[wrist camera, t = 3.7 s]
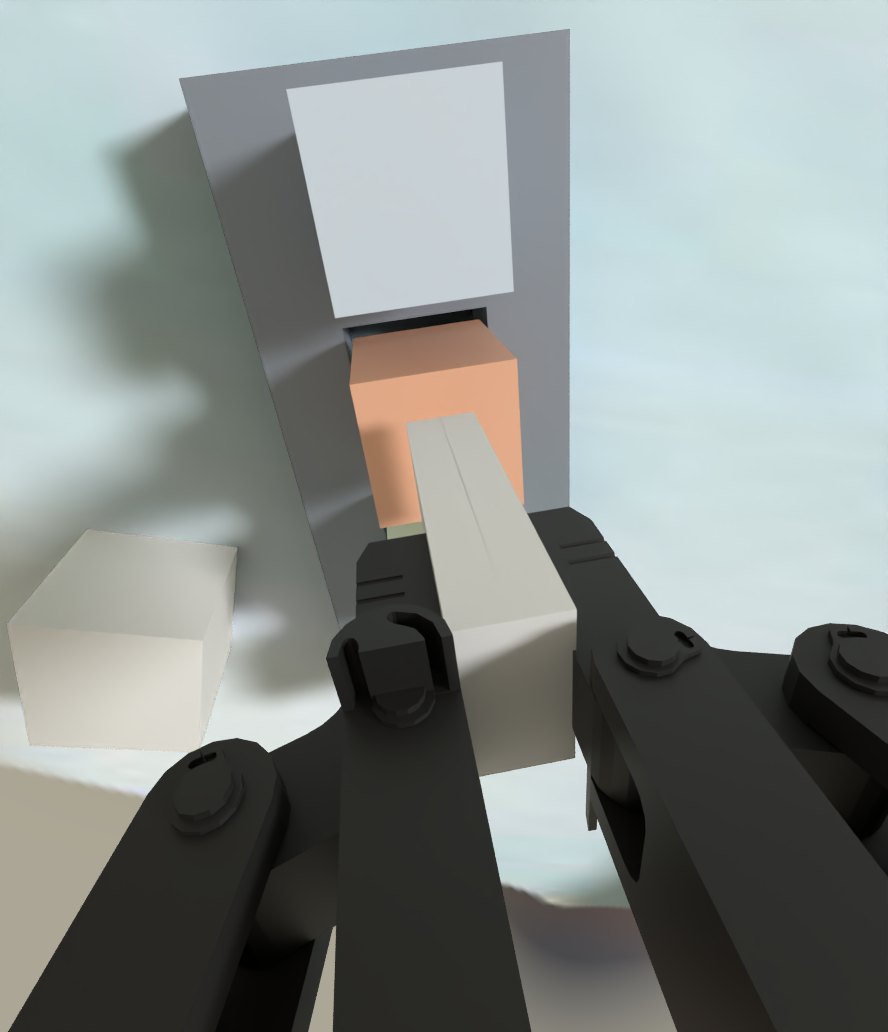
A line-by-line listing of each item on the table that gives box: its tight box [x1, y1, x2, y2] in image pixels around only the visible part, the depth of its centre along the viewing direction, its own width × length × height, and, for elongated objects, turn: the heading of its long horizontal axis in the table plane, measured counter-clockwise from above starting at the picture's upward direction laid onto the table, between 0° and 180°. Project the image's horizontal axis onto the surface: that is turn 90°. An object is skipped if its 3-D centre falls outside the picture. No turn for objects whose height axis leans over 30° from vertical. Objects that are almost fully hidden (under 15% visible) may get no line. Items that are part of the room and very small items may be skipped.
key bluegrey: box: [286, 62, 514, 318], centre depth 13 cm, size 4×4×5 cm
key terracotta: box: [349, 319, 524, 528], centre depth 16 cm, size 4×4×5 cm
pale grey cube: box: [6, 529, 238, 752], centre depth 22 cm, size 6×6×6 cm
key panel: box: [179, 29, 570, 630], centre depth 21 cm, size 23×10×3 cm, turn 7°
